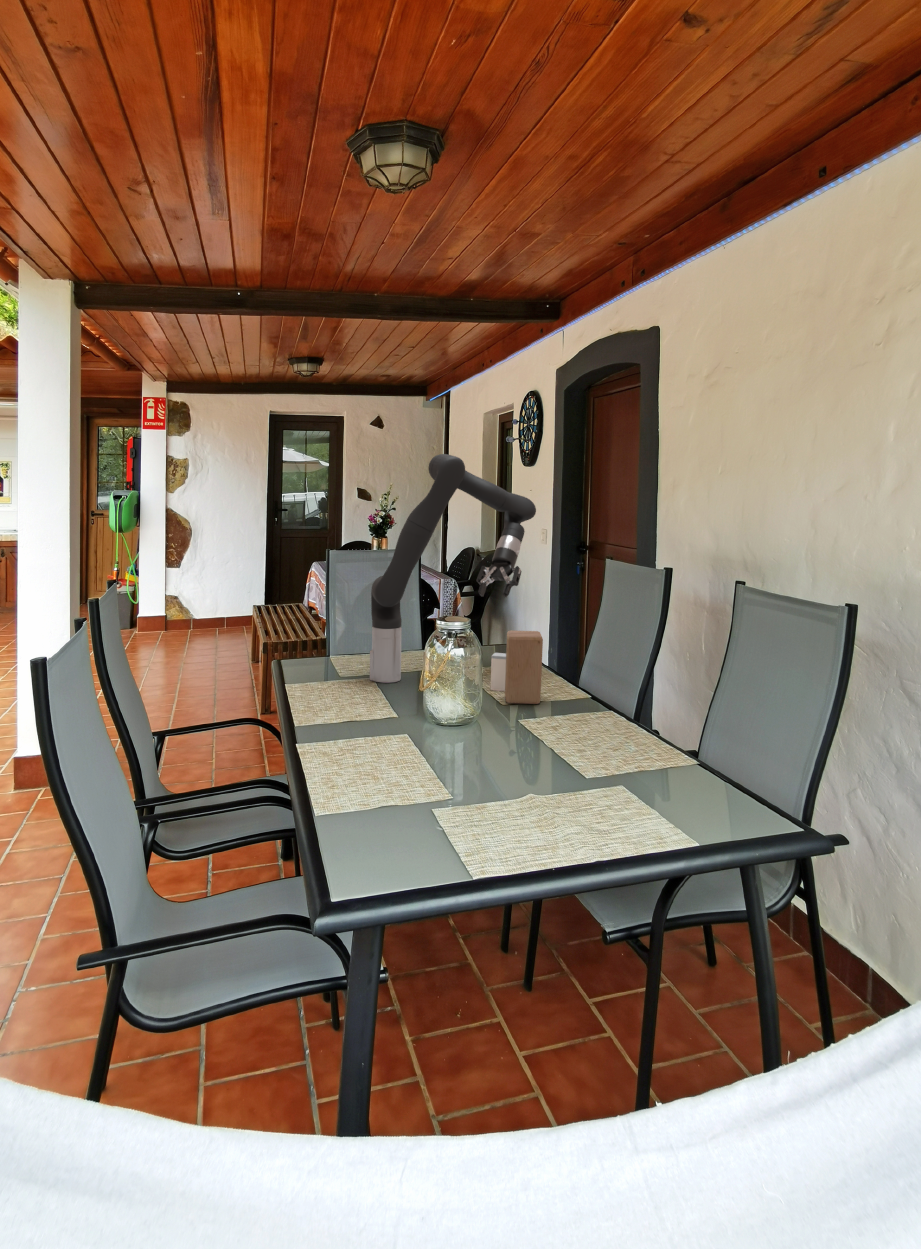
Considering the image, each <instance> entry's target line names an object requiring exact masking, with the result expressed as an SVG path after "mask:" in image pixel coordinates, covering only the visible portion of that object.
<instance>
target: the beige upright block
mask: <svg viewBox="0 0 921 1249" xmlns="http://www.w3.org/2000/svg"><path fill="white" fill-rule="evenodd" d="M490 658H491V662H490V663H491V665H490V666H491V667H490V691H498V692H505V675H506V652H505V653H504V652H503V653H502V652H494V653H493V654H492V655H491V656H490Z"/></svg>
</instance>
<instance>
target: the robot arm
mask: <svg viewBox="0 0 921 1249" xmlns="http://www.w3.org/2000/svg"><path fill="white" fill-rule="evenodd" d="M428 473H429V475H430V478H432V480H433V483H432V484H431V488H430V490H429V492H428V493H427V495H426V496H425V497H424V498H423V499H422V500H421V501H420V503H418V504H417V505H416V506H415V507H414V508H413V509H412V511H411V512H410V514H409V515H408V516H407V518H406V521H405V523H404V524H403V527H402V528H401V531H400V532H399V534H398V535H399V536H398V539H397V542H396V546H395V549H394V552H393V556H392V559H391V561H390V563H389V565H388V566H387V568H386V570H385V572H384V573H383V575H380V576H379V577H377V578H376V579H375V580H374V581H373V583H372V584H371V591H370V592H371V593H370V597H371V598H370V599H371V600H370V601H371V602H370V604H371V605H370V606H371V607H370V608H371V609H370V610H371V613H370V614H371V624H372V626H371V631H372V632H371V633H372V634H371V635H372V636H371V650H370V651H369V681H373V682H375V683H390V684H391V683H396V682H399V681H401V680H402V614H401V600H402V598H403V596H404V593H405V591H406V588H407V585H408V583H409V580H410V578H411V576H412V573H413V571H414V569H415V567H416V565H417V564H418V562H419V560H420V558H421V557H422V556H423V553H424V552H425V550H426V548H427V546H428V545H429V543H430V540H431V538H432V537H433V535H434V532H435V530H436V528H437V526H438V523H439V522H440V519H441V518H442V516H443V514H444V511H445V509H446V507H447V506H448V504H449V502H450V500H451V499H452V497H453V496H454V494H455V493H456V491H457V490H460V491H462V492H464V493H466V494H467V495H469V496H471V497H472V498H475V499H476V500H478V501H479V502H481V503H482V504H485V505H486V506H488V507H490V508H492V509H494V510H495V511H498V512H499V513H500V512H501V513H503V512H504V517H503V529H502V532H501V536H500V538H499V540H498V542H497V544H496V548H495V550H494V553H493V557H492V560H491V564H490V566H489V567H488V566H487V567H486V566H485V565H482V566H481V567H480V570H479V572H478V575H477V577H476V582H477V583H478V585H479V587H478V591H477V592H478V595H479V596H480V597H484V596H485V593H486V591H487V587H488V585H490V584H492V583H493V582H494V581H495V582H496V581H497V582H498V581H500V582H504V581H505V582H506V583H505V584H504V587H503V590H502V593H501V595H502V596H503V597H504V598H507V597H508V596H509V595H510V592H511V589H512V588H513V587H518V586H519V584H520V579H521V576H522V569H521V568H520V567H519V566H518V565H516V563H517V561H518V558H519V555H520V554H519V553H520V550H521V546H522V542H523V539H524V536H525V532H526V531H525V527H524V526H523V525H521V524H522V523H523V522H528V521H529V520H531V519H532V518H534V517H535V516H536V512H537V508H536V505H535V503H534V502H533V501H532V500H531V499H530V498H528V497H526V496H524V495H520V494H516V493H513V492H508V491H507V490H506V489H504V488H502V487H500V486H498V485H496V484H494V483H493V482H491V481H488V480H486V479H483V478H482V477H479V476H477V475H475V474H473V473H471V472H469V471H468V470H466V465H465V463H464V461H463V460H462V459H461V458H460V457H458V456H456V455H451V454H447V453H440V454H437V455H435V456H433V457H432V458H431V459H430V461H429V463H428ZM512 574H513V575H512ZM511 575H512V579H511V577H510V576H511ZM490 577H491V578H490Z"/></svg>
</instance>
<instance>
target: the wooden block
mask: <svg viewBox="0 0 921 1249" xmlns="http://www.w3.org/2000/svg"><path fill="white" fill-rule="evenodd" d="M543 641H544V640H543V637H542V634H541V631H538V630H512V629H511V630H508V631H507V632H506V646H505V647H506V649H505V650H506V651H505V653H506V675H505V691H504V698H505V701H506V703H507V704H518V705H521V704H522V705H523V704H525V705H538V704H540V702H541V695H542V694H541V693H542V669H543V648H544V646H543V645H544V644H543V643H544V642H543Z"/></svg>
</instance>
